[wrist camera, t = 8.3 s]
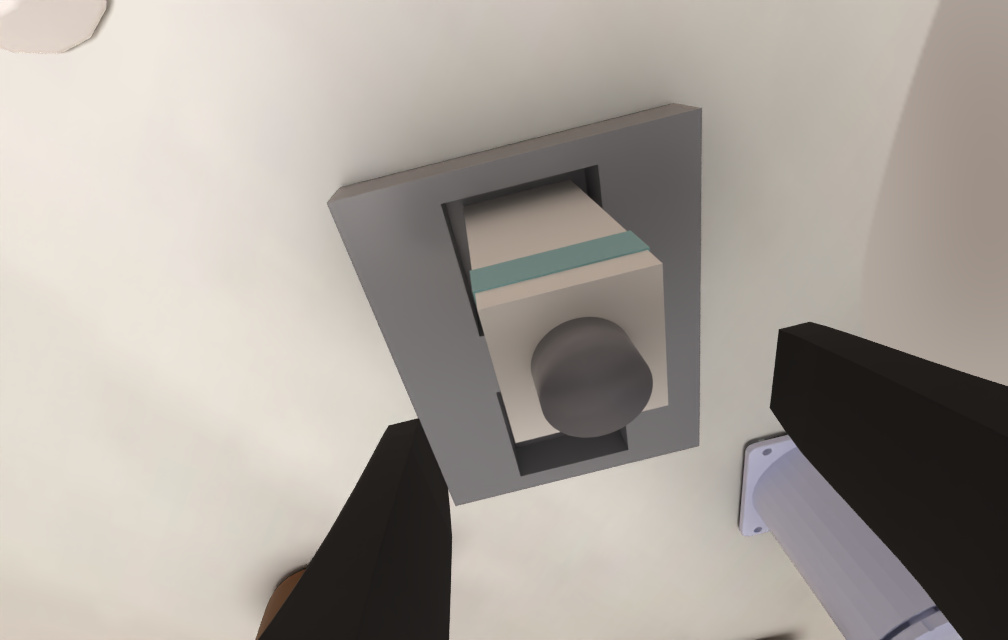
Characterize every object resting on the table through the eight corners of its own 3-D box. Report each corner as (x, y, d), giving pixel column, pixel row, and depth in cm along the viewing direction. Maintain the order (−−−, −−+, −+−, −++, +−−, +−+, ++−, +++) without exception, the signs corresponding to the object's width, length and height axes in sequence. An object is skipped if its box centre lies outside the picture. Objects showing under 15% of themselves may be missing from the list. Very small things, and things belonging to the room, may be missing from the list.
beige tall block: (571, 177, 16) (692, 284, 8) (585, 277, 18) (692, 439, 10) (461, 205, 16) (478, 338, 8) (487, 302, 18) (521, 482, 10)
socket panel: (673, 103, 16) (701, 108, 14) (680, 417, 23) (699, 445, 21) (339, 187, 16) (326, 202, 14) (454, 473, 23) (455, 506, 22)
